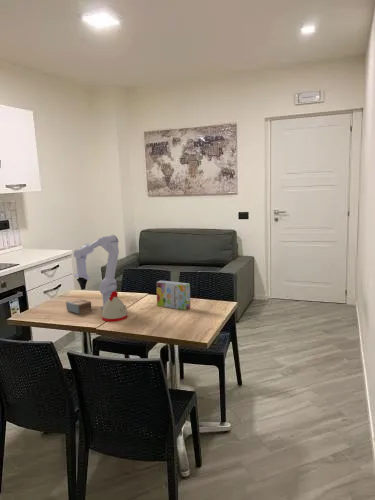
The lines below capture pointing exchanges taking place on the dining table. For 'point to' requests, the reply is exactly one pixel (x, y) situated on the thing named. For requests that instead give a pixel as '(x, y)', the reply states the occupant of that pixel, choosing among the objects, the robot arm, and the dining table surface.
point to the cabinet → (82, 305)
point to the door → (72, 307)
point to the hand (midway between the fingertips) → (83, 289)
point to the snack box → (173, 294)
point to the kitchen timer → (114, 309)
